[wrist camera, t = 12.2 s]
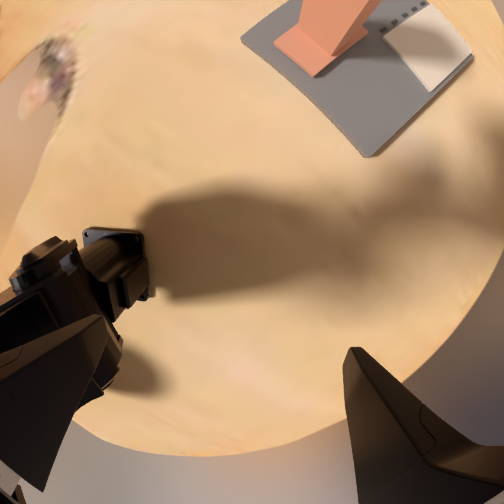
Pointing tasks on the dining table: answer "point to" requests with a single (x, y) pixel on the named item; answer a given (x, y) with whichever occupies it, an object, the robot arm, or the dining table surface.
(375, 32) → the ticket board
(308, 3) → the stub
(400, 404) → the robot arm
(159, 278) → the dining table surface
